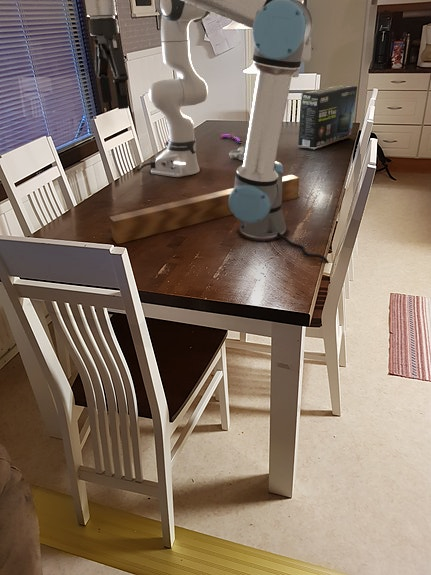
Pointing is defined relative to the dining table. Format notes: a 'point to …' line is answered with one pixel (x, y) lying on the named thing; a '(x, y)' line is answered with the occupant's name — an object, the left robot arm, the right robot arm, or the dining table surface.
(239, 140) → the purple curved segmented piece
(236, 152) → the fossil
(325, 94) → the router box
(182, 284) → the dining table surface
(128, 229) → the bar
